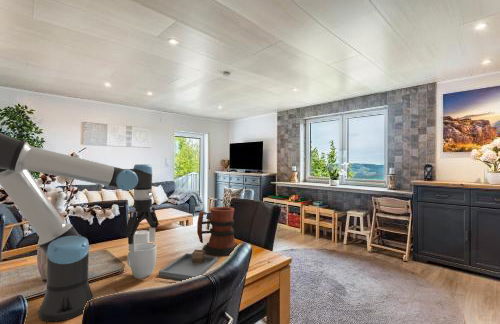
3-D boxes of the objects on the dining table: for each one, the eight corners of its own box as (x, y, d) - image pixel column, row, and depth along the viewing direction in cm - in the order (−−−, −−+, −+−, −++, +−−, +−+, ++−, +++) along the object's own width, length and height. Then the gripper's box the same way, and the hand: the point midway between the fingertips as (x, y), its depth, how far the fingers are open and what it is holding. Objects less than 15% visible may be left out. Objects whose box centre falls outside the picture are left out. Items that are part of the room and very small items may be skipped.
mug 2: (117, 276, 114) (118, 246, 114) (137, 267, 124) (138, 240, 124) (142, 283, 108) (143, 252, 108) (161, 273, 118) (162, 244, 118)
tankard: (245, 256, 142) (246, 211, 142) (199, 260, 135) (200, 213, 135) (235, 244, 163) (236, 205, 163) (195, 247, 156) (195, 206, 156)
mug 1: (132, 259, 135) (132, 236, 135) (124, 255, 140) (124, 233, 140) (152, 253, 144) (153, 231, 144) (144, 250, 149) (144, 229, 150)
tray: (196, 283, 109) (196, 276, 109) (158, 278, 114) (158, 271, 114) (218, 263, 132) (218, 257, 132) (186, 259, 137) (186, 253, 137)
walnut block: (201, 263, 128) (202, 253, 128) (192, 263, 128) (192, 252, 128) (204, 259, 133) (204, 250, 133) (195, 259, 133) (195, 249, 133)
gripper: (130, 203, 103) (129, 256, 103) (166, 195, 127) (166, 238, 127) (114, 202, 105) (114, 254, 105) (153, 195, 129) (152, 237, 129)
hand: (142, 246), depth 116 cm, fingers open, 13 cm apart
